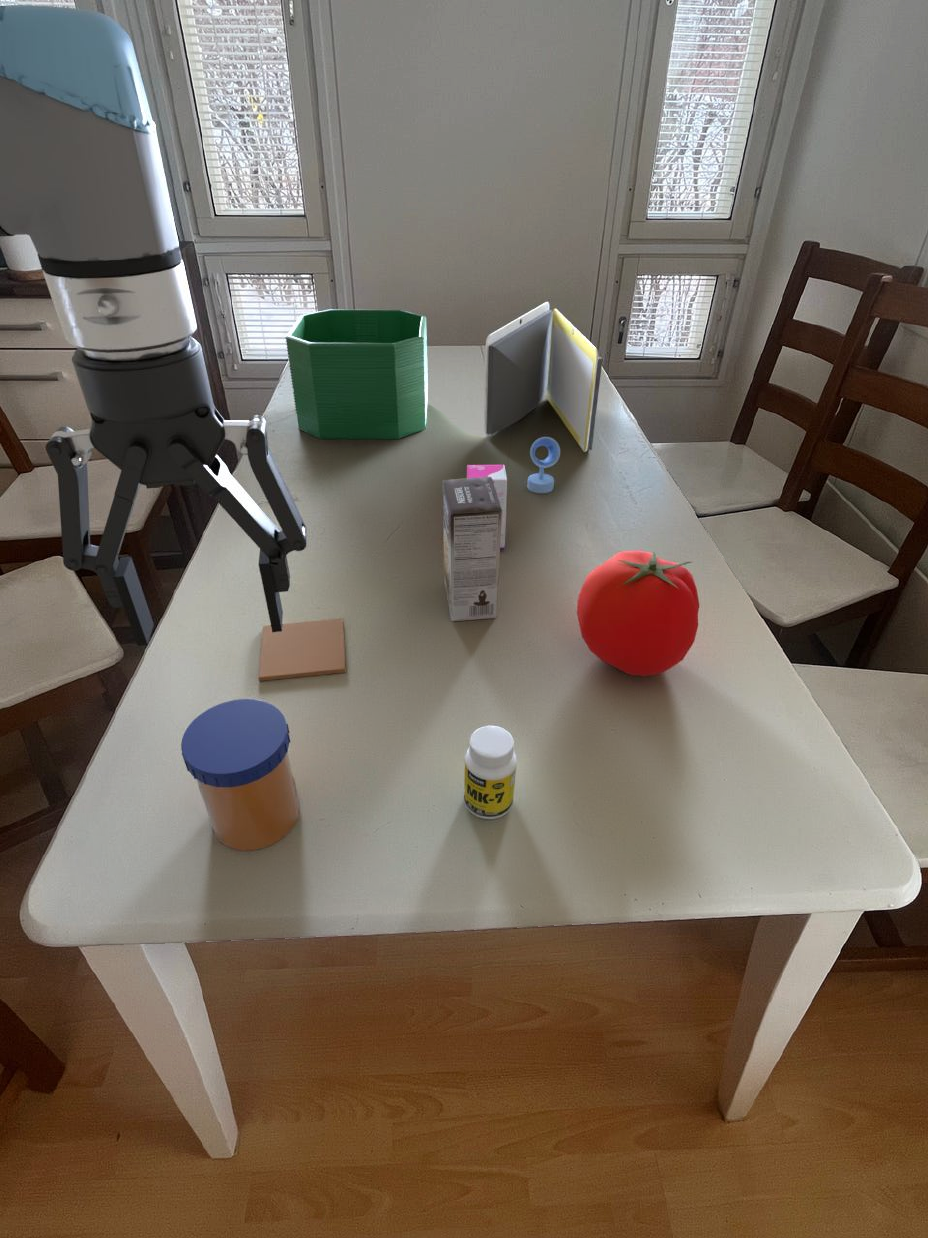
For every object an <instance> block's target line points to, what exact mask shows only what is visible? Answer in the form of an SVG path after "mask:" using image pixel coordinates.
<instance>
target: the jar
mask: <svg viewBox="0 0 928 1238" xmlns="http://www.w3.org/2000/svg"><path fill="white" fill-rule="evenodd" d="M195 780H196V781H195V782H196V783H197V787H198V789H199V792H200V796H201V797H202V801H203V803H204V806H205V809H206V812H207V815H208V818H209V821H210V824H211V827H212V830H213V833H214V835H215V837H216V838H217V840H218V841H219V842H221V843H222V844H223V845H225V846H226V847H227V848H230V849H234V850H236V851H245V852H247V851H248V852H249V851H256V850H257V851H258V850H261V849H265V848H267V847H270V846H272V845H274V844H276V843H277V842H279V841H280V840H282V839H283V838H285V837H286V836H287V835H288V834H289V833H290V831H292V829H293V828H294V826H295V825H296V823H297V821H298V818H299V815H300V809H301V807H300V800H299V794H298V789H297V785H296V780H295V776H294V771H293V766H292V761H291V757H290V752H289V751H288V753H286V755H285V757H284V759H283V760H282V762H281V763H280V764H279V765H278V766H277V767H276V768H275V769H274V770H273V771H272V772H270V773H269V774H267V775H266V776H264V777H262V778H261V779H259V780H256V781H254V782H252V783H249V784H246V785H241V786H236V787H215V786H210V785H207V784H206V785H205V784H204V783H202V782H200V781H199V780H197V779H195Z"/></svg>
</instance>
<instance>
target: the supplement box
mask: <svg viewBox="0 0 928 1238" xmlns="http://www.w3.org/2000/svg"><path fill="white" fill-rule="evenodd" d="M480 477H491V478H492V480H493V483H494V486H495V489H496V492H497V495H498V498H499V502H500V504H501V508H502V525H501V545H500V552H501V551H502V552H503V551H504V552H505V547H506V546H505V544H506V526H507V525H506V522H507V521H506V520H507V496H508V495H507V494H508V477H507V472H506V465H505V464H467V465H466V478H480Z"/></svg>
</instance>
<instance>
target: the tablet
mask: <svg viewBox="0 0 928 1238" xmlns="http://www.w3.org/2000/svg"><path fill="white" fill-rule="evenodd" d="M484 349H485V350H484V351H485V352H484V355H485V356H484V357H485V358H484V398H483V399H484V400H483V401H484V403H483V405H484V406H483V407H484V409H483V434H484V436H489V435H494V434H496V433H498V432H500V431H501V430H503V429H505V428H507V427H509V426H511V425H513V424H514V423H517V422H518V421H520V420H521V419H523V418H524V417H525V416H526V415H528V413H530V412H532V410H533V409H535V408H536V407H537V406H538V405H539V404H540V402H541V400H542V399H543V397H544V395H545V394H546V398H547V401H548V403H549V404H550V405H551V407H552V408H553V409H554V411H555V412H556V414H557V415H558V417H559V418H560V419H561V421H562V423H563V424H564V426H565V427H566V428H567V430H568V431H569V432H570V434H571V436H572V437H573V439H574V440H575V441H576V443H577V444H578V446H579V447H580V449H581V450H582V452H584V453H585V452H587V451H591V450H592V449H593V441H594V435H595V426H596V416H597V409H598V401H599V400H598V399H599V392H600V383H601V376H602V375H601V374H602V366H603V358H602V357H601V356H600V355H599V350H598V349H597V347H596V346H595V345H594V344H593V343H591V341H590V340H589V339H587V338H586V336H585V335H584V334H582V333H581V331H579V330H578V329H577V327H575V326H574V325H573V324H572V322H570V320H568V319H567V317H565V316H564V315H563V314H562V313H561V312H560V311H559V310H558V309H557V308H553V310H552V309H550V302H549V301H545V302H544V303H541V304H540V305H539V306H537V307H535V308H534V309H531V310H530V311H528V312H526V313H524V314H523V315H521V316H519V317H517V318H516V319H514V320H512V321H510V322H509V323H507V324H506V325H504V326H501V327H500V328H499V329H497V330H494V331H493V332H492V333H489V334H488V335H487V336H486V339H485V348H484Z"/></svg>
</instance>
